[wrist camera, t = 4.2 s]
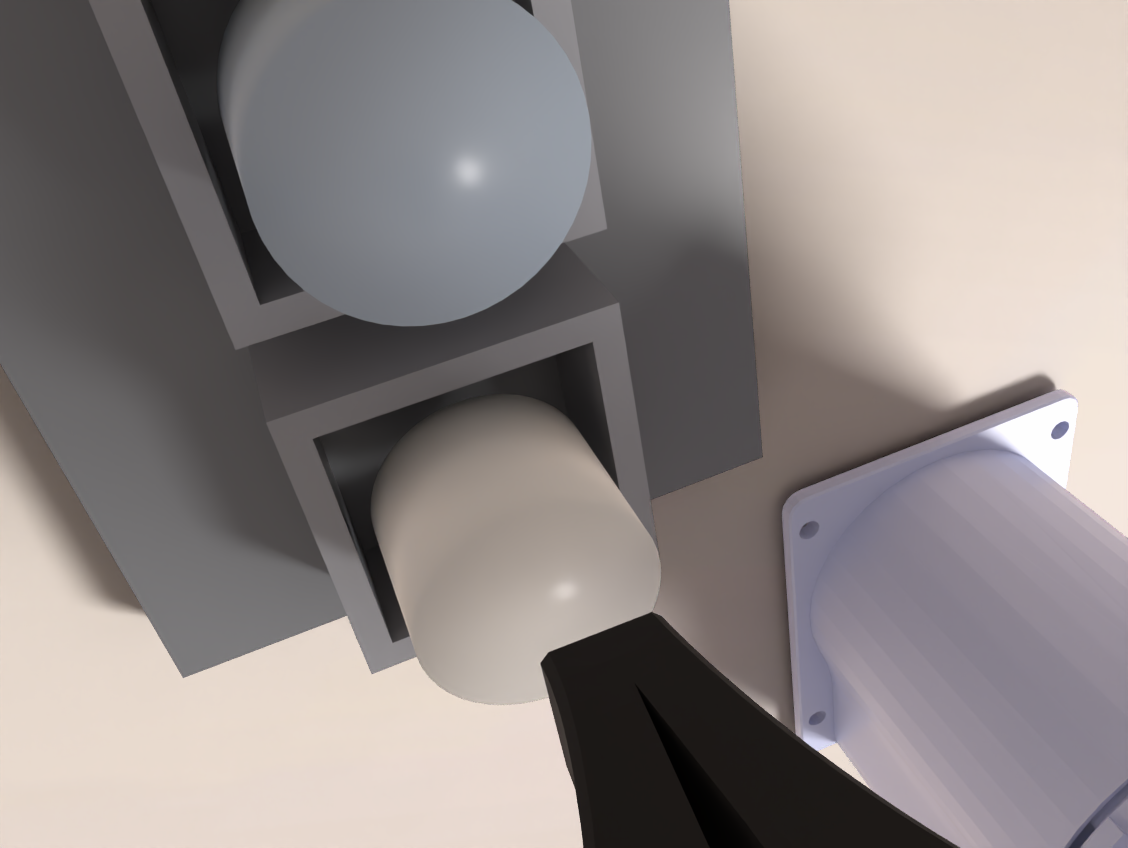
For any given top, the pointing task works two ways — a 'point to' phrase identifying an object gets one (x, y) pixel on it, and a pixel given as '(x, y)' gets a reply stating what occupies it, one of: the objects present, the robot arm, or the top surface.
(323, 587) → the panel
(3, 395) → the top surface
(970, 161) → the top surface
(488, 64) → the slate button
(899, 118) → the top surface
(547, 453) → the ivory button
